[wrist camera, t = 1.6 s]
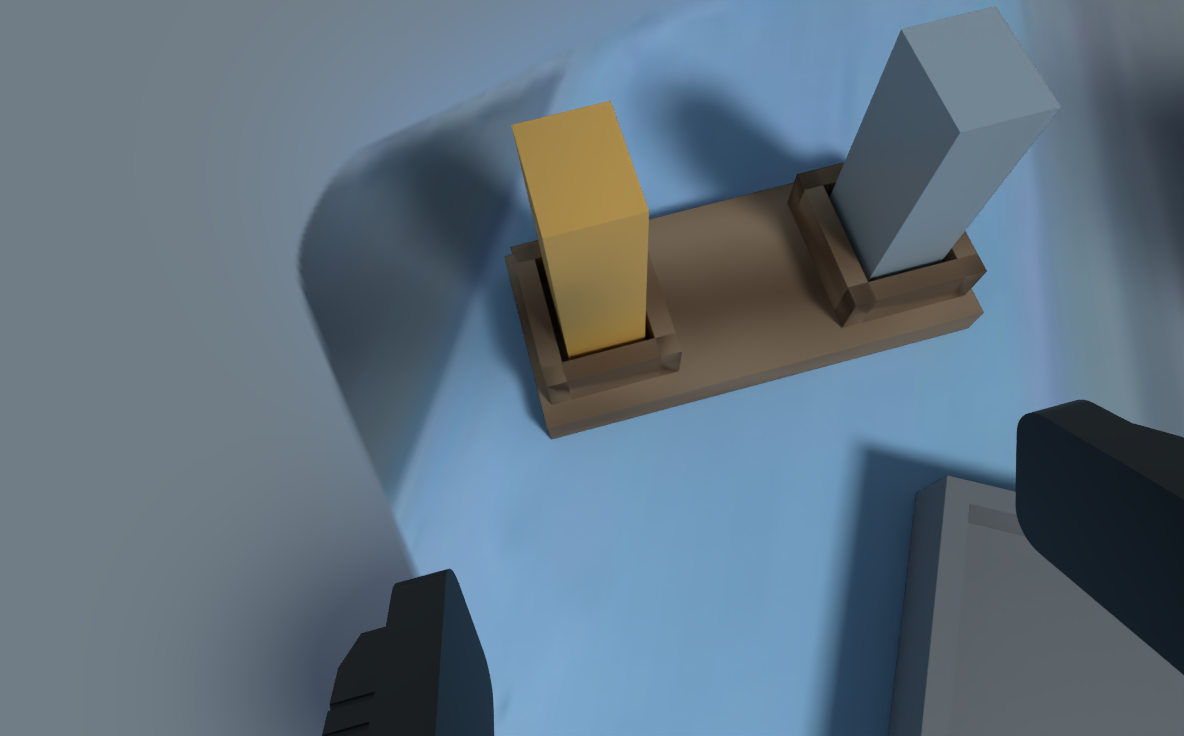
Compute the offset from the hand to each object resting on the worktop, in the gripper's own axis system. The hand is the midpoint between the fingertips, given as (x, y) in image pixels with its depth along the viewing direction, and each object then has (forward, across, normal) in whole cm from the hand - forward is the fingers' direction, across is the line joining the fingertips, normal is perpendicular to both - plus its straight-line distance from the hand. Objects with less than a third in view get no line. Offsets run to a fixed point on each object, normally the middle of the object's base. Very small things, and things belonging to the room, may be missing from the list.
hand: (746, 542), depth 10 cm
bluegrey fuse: (+20, -12, +3) cm, 24 cm away
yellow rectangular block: (+20, 0, +3) cm, 20 cm away
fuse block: (+21, -6, +4) cm, 22 cm away
